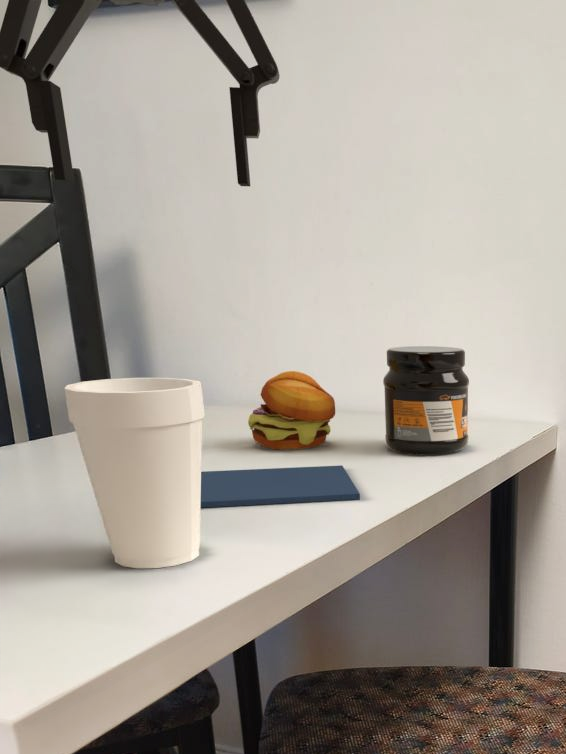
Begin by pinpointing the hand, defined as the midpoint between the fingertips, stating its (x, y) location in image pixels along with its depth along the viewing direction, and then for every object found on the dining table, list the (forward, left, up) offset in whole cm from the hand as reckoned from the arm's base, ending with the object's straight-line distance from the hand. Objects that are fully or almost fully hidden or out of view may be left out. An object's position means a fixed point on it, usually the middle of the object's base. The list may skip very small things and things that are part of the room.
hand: (155, 183), depth 70 cm
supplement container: (+27, +29, -27) cm, 48 cm away
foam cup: (-3, -11, -27) cm, 30 cm away
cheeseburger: (+11, +35, -27) cm, 45 cm away
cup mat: (+5, +11, -27) cm, 29 cm away
